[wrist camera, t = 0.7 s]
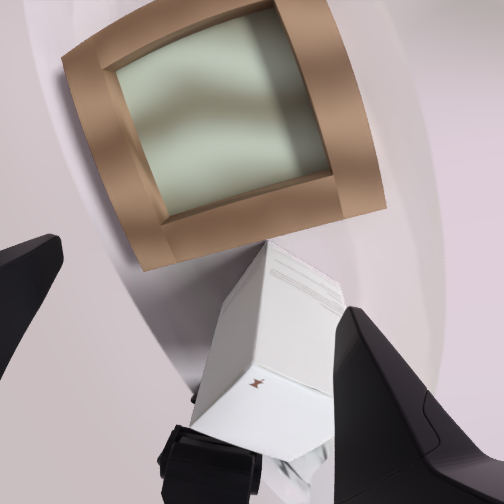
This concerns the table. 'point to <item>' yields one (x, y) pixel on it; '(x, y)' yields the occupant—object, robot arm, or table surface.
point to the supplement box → (273, 359)
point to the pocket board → (224, 124)
